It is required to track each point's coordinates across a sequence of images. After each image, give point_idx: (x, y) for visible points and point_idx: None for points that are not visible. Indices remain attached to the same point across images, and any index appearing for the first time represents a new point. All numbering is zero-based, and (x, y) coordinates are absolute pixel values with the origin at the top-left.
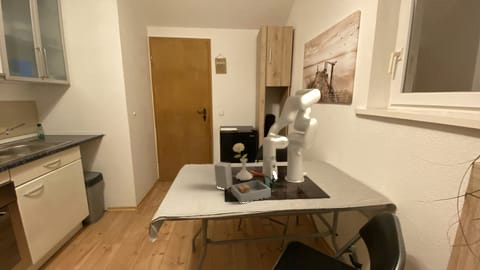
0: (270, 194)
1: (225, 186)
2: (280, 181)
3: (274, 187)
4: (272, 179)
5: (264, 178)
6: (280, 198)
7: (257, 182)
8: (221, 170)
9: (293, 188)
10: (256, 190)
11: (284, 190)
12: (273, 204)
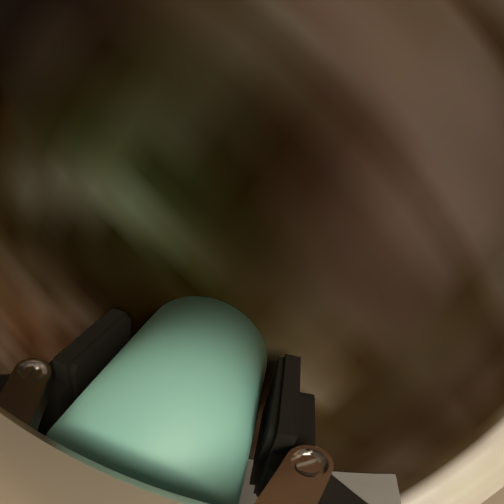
0: (398, 497)
1: None
2: (119, 32)
3: (299, 366)
4: (241, 487)
5: None
6: (481, 425)
7: None
8: None
9: (462, 76)
10: None
11: (429, 248)
12: (464, 492)
